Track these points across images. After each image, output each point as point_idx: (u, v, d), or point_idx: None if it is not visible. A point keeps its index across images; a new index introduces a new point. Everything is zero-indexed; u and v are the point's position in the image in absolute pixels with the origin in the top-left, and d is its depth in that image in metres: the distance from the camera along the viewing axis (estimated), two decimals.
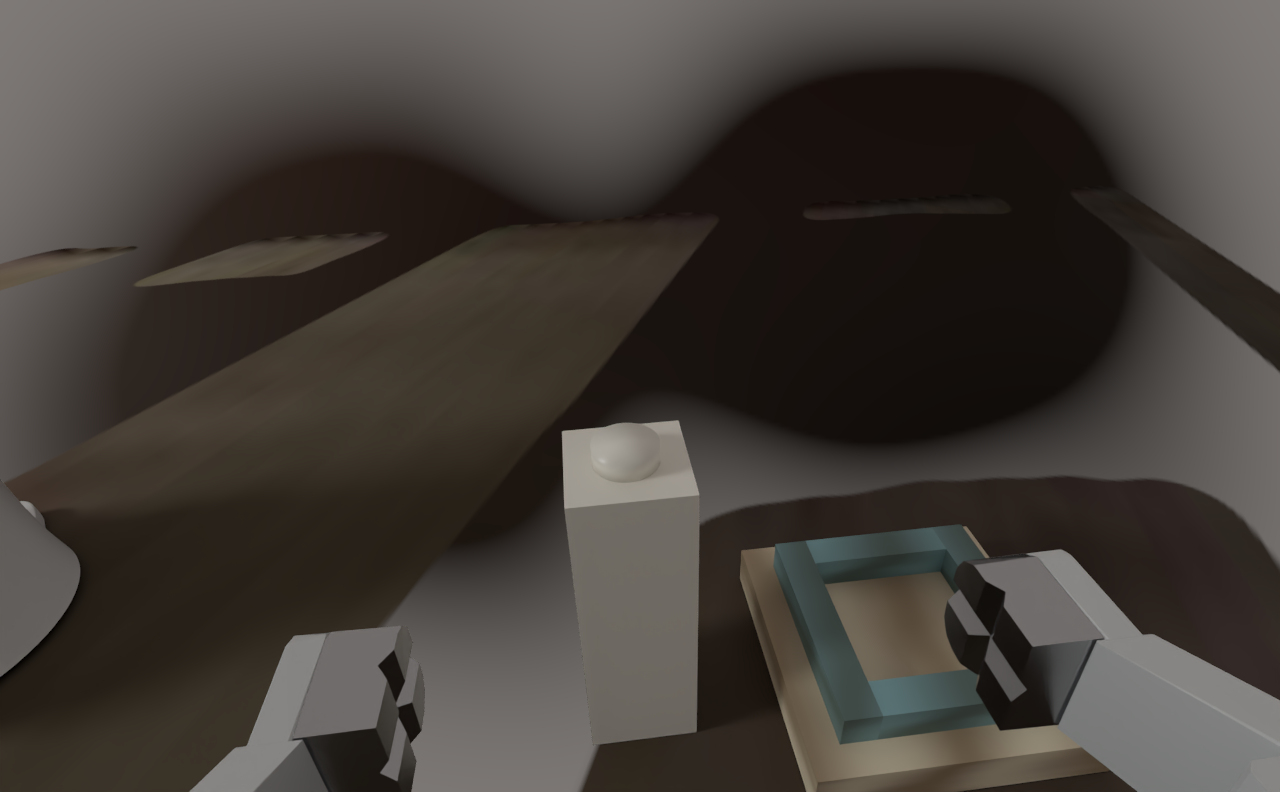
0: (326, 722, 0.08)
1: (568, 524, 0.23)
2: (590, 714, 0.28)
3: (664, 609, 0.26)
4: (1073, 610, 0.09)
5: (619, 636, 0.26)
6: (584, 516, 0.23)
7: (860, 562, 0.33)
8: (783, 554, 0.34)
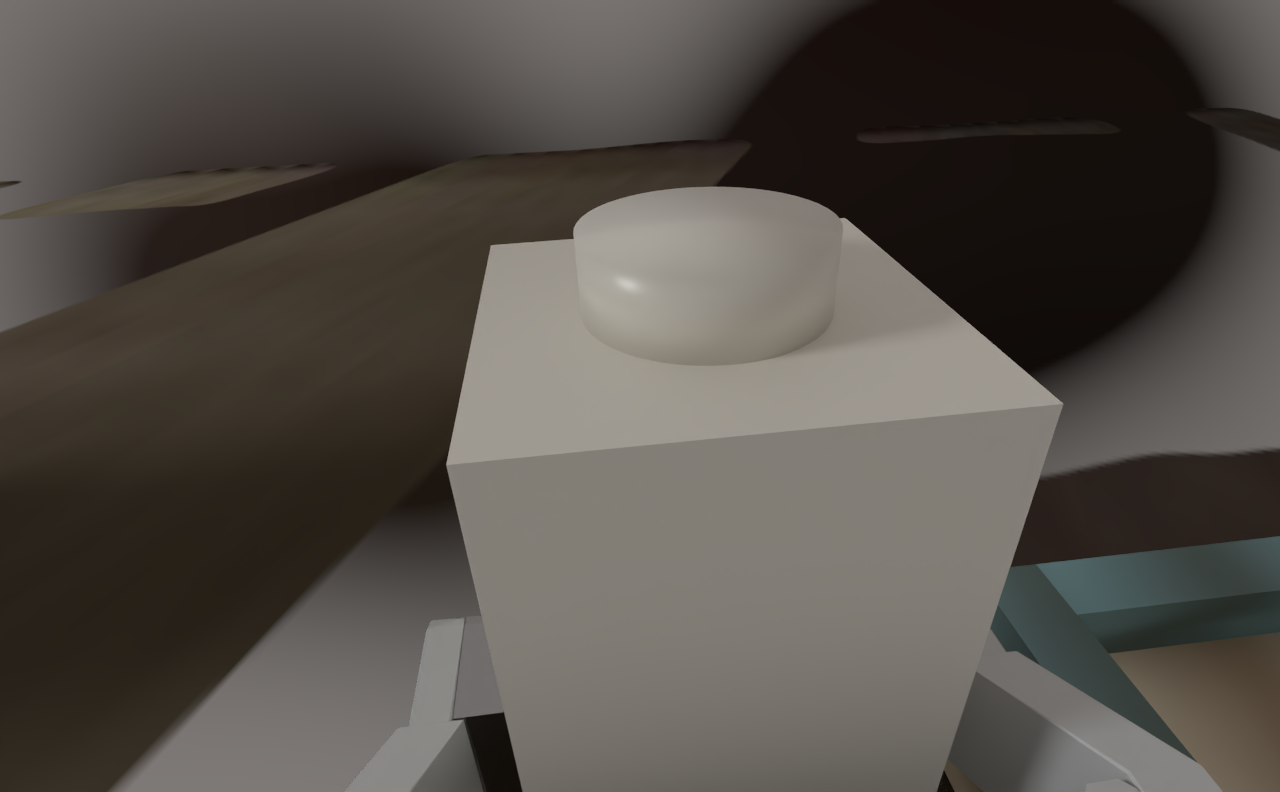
0: (483, 703, 0.08)
1: (473, 539, 0.05)
2: None
3: None
4: None
5: None
6: (543, 501, 0.05)
7: (1169, 611, 0.15)
8: None
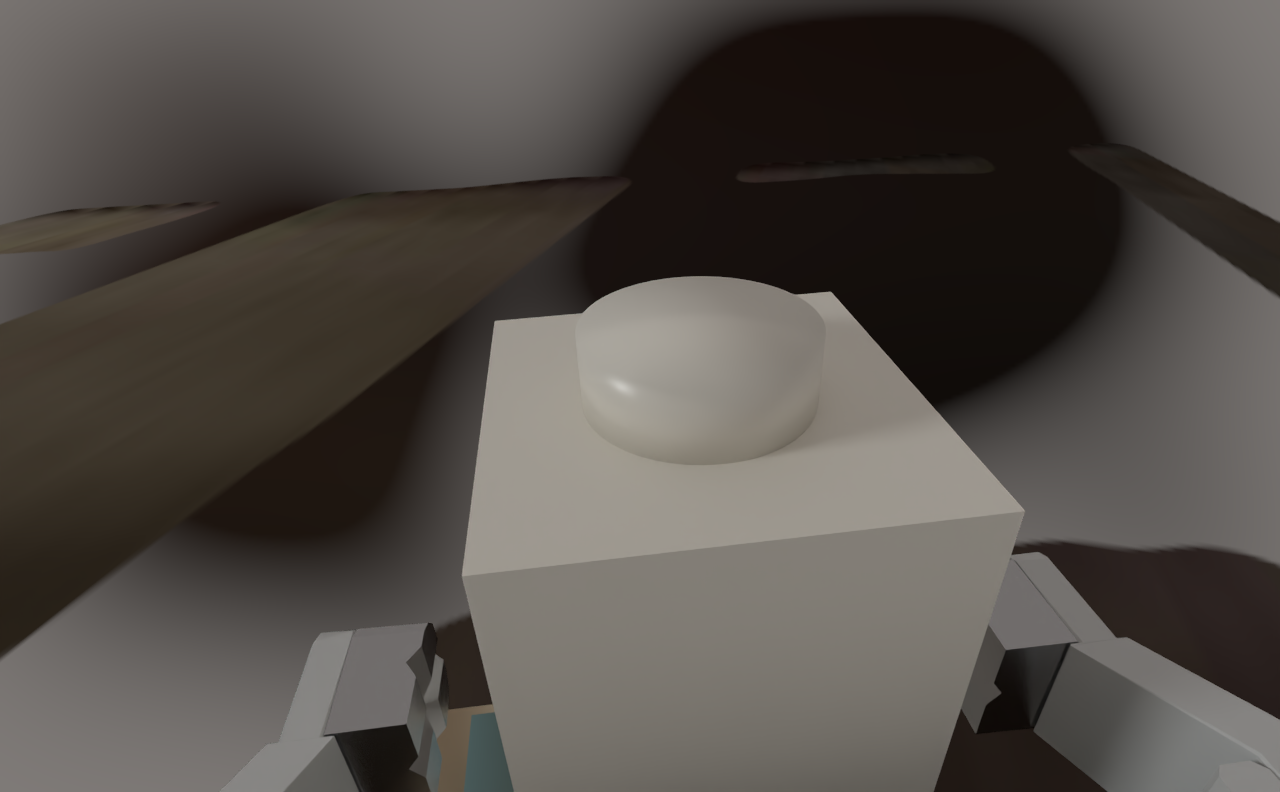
0: (357, 718, 0.08)
1: (485, 637, 0.06)
2: None
3: None
4: (1048, 612, 0.09)
5: None
6: (551, 604, 0.05)
7: None
8: (477, 742, 0.16)
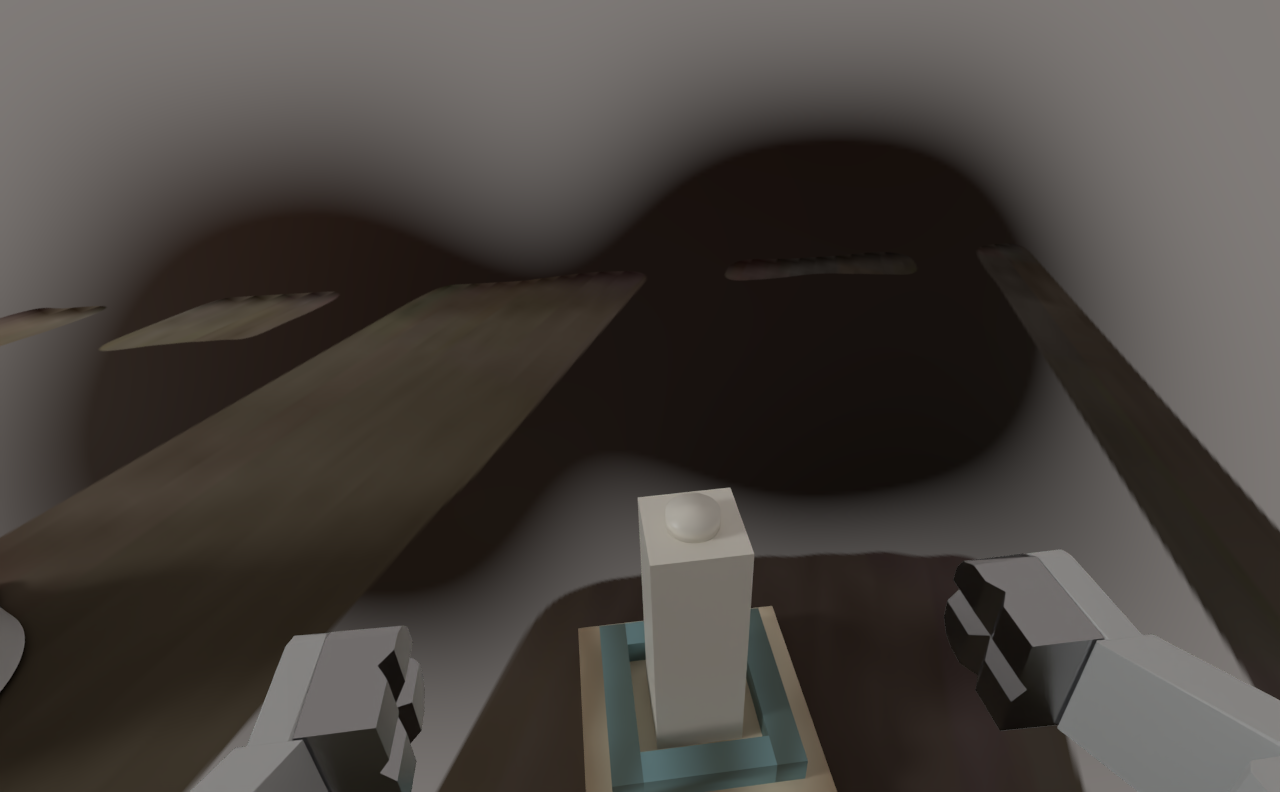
0: (326, 722, 0.08)
1: (652, 577, 0.29)
2: (657, 724, 0.35)
3: (721, 640, 0.32)
4: (1073, 610, 0.09)
5: (685, 661, 0.33)
6: (664, 571, 0.29)
7: None
8: (603, 636, 0.40)
